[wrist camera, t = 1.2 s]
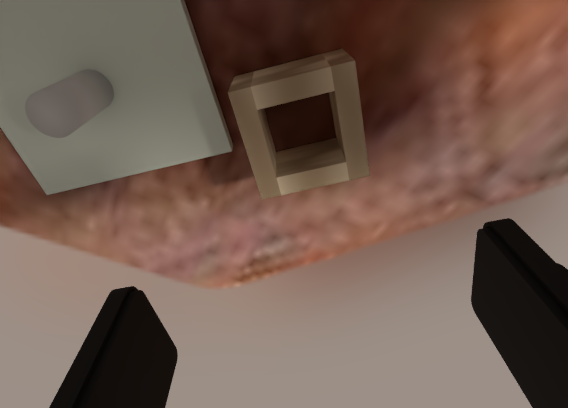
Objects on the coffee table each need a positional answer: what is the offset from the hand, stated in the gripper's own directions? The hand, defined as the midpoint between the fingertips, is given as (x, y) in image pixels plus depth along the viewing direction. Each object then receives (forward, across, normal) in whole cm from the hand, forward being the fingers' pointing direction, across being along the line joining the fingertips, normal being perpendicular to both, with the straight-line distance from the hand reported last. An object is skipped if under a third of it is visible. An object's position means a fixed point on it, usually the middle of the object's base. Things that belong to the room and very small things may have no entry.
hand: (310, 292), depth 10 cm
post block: (+17, +12, -4) cm, 21 cm away
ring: (+17, -1, 0) cm, 17 cm away
